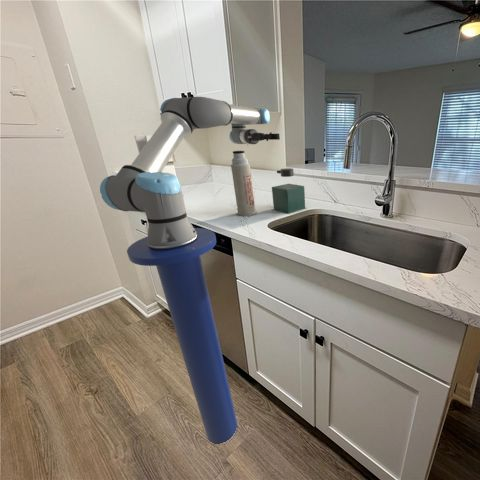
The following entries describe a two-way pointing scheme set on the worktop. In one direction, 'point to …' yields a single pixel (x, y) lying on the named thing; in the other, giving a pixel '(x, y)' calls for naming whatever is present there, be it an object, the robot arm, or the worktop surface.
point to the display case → (141, 142)
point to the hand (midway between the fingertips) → (278, 136)
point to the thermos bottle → (242, 184)
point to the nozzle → (286, 172)
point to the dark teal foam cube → (288, 198)
